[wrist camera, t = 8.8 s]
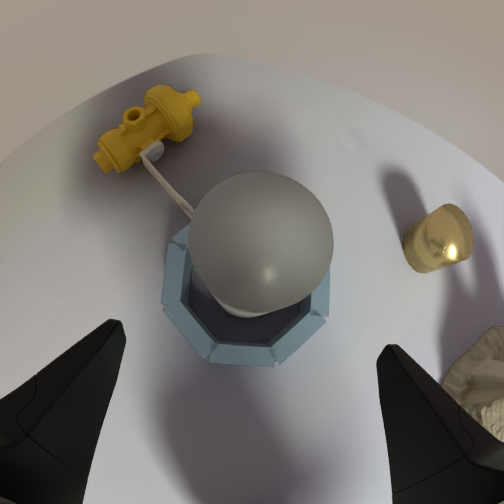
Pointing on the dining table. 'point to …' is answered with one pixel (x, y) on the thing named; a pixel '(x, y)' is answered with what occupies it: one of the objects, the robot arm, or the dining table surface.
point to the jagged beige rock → (481, 381)
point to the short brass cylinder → (438, 239)
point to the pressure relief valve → (149, 134)
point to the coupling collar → (226, 351)
